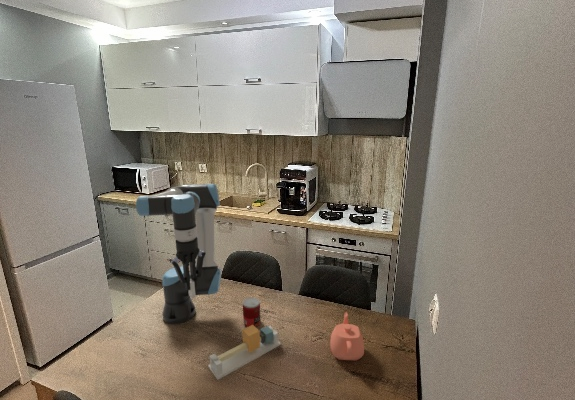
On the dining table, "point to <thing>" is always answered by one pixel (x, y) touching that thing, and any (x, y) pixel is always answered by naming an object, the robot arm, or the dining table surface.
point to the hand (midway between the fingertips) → (192, 295)
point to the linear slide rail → (243, 354)
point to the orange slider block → (251, 337)
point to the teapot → (347, 341)
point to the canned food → (251, 312)
